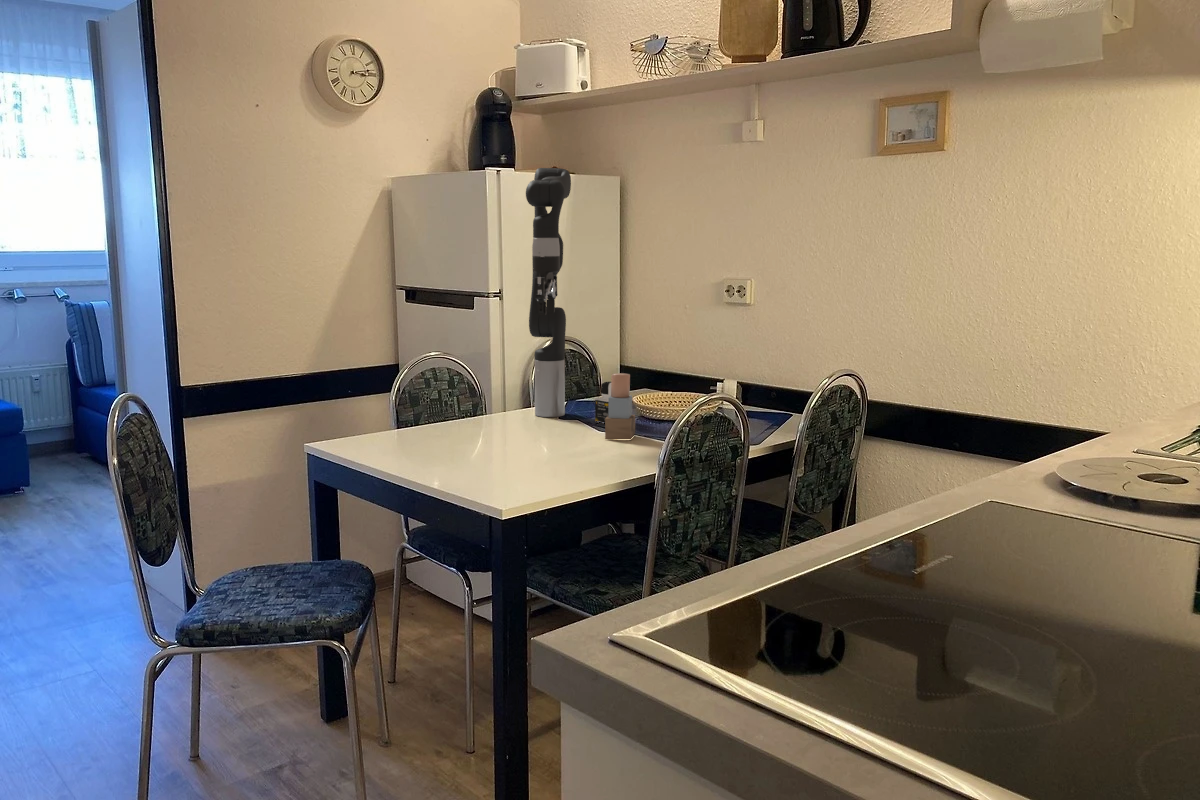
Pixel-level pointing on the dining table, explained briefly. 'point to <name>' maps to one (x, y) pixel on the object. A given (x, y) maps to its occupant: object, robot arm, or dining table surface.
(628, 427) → the walnut block
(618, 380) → the terracotta cylinder
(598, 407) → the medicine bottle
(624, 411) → the grey block
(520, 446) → the dining table surface
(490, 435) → the dining table surface
